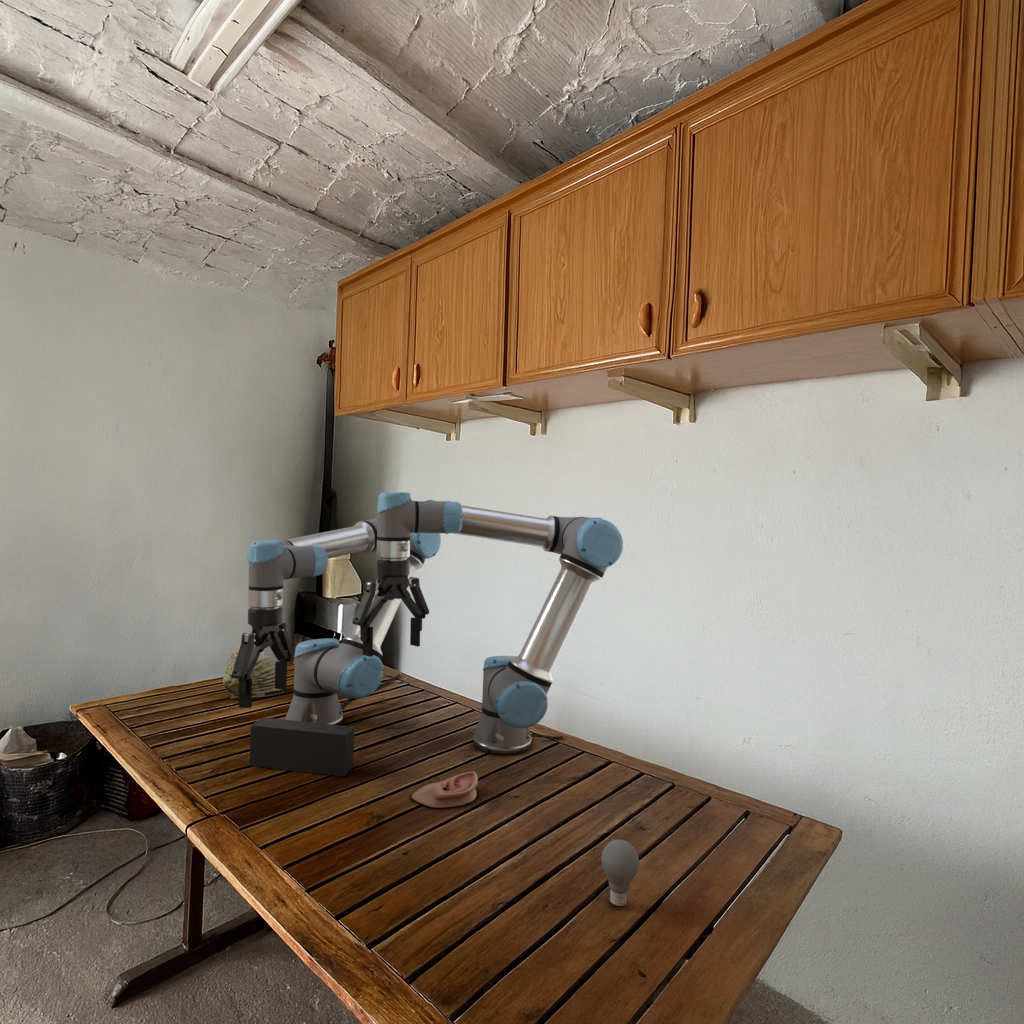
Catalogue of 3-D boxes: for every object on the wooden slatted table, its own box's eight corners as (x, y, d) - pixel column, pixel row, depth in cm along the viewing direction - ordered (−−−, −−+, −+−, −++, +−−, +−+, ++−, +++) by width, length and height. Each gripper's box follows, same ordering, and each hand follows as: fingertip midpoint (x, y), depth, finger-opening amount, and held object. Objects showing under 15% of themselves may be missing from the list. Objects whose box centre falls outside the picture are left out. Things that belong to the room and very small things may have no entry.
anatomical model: (407, 784, 132) (425, 763, 143) (406, 803, 132) (424, 780, 143) (468, 793, 129) (482, 770, 140) (467, 812, 129) (481, 788, 141)
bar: (249, 765, 147) (250, 725, 147) (261, 756, 153) (263, 717, 152) (343, 776, 144) (345, 735, 144) (353, 767, 149) (354, 726, 149)
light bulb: (595, 892, 105) (598, 832, 105) (631, 891, 105) (634, 832, 105) (604, 915, 99) (607, 852, 99) (641, 915, 99) (644, 852, 99)
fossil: (218, 695, 195) (220, 647, 195) (278, 685, 208) (279, 640, 207) (228, 703, 189) (230, 653, 188) (289, 692, 201) (290, 645, 201)
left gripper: (245, 618, 134) (243, 717, 134) (308, 599, 158) (307, 683, 159) (214, 615, 135) (213, 713, 136) (282, 597, 160) (280, 680, 160)
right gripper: (357, 563, 134) (355, 663, 135) (444, 556, 153) (443, 644, 153) (337, 560, 139) (336, 656, 140) (424, 554, 158) (423, 639, 158)
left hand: (263, 697), depth 147 cm, fingers open, 13 cm apart
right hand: (392, 650), depth 147 cm, fingers open, 13 cm apart
